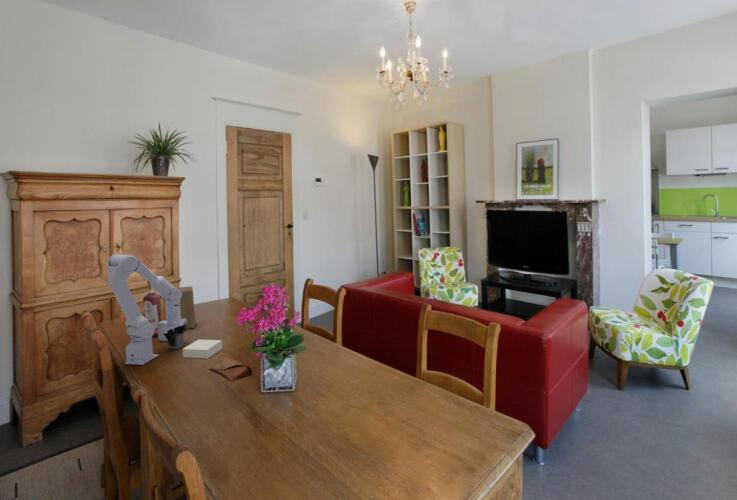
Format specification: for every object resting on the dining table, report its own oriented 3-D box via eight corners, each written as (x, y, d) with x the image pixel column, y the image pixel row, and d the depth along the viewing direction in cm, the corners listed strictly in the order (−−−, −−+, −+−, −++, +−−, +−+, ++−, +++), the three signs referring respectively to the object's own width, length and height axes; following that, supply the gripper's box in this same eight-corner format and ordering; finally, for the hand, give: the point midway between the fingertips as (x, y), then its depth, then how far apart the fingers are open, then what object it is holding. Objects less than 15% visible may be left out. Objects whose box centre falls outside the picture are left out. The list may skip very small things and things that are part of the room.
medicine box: (180, 338, 183) (178, 320, 182) (174, 341, 178) (172, 323, 177) (164, 337, 184) (162, 320, 183) (158, 341, 179) (156, 323, 178)
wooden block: (174, 325, 202) (171, 287, 199) (195, 322, 206) (192, 285, 203) (173, 331, 193) (170, 292, 190) (195, 328, 197) (192, 289, 194)
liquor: (167, 332, 191) (162, 276, 187) (157, 338, 184) (152, 279, 180) (153, 332, 192) (147, 276, 188) (143, 337, 184) (137, 279, 181)
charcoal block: (177, 348, 169) (176, 336, 169) (168, 348, 170) (167, 336, 169) (184, 345, 174) (183, 333, 173) (174, 344, 174) (173, 333, 174)
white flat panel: (208, 359, 158) (207, 350, 158) (183, 358, 160) (182, 348, 160) (222, 349, 169) (221, 340, 169) (199, 348, 171) (198, 339, 170)
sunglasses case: (205, 369, 148) (213, 352, 150) (220, 372, 153) (227, 355, 155) (232, 382, 137) (239, 363, 139) (247, 385, 142) (254, 367, 144)
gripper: (171, 319, 162) (173, 350, 164) (191, 309, 176) (193, 338, 178) (155, 318, 163) (158, 349, 165) (177, 309, 178) (179, 337, 179)
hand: (175, 343), depth 172 cm, fingers closed on charcoal block, 4 cm apart
